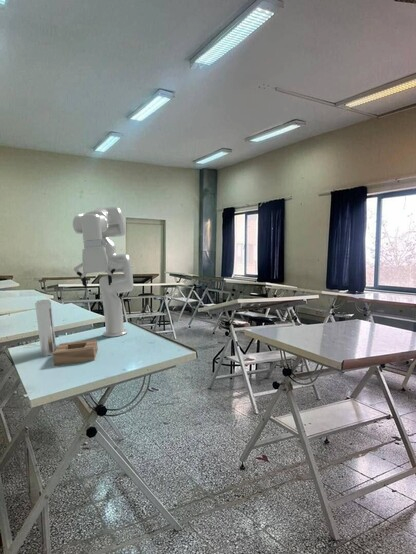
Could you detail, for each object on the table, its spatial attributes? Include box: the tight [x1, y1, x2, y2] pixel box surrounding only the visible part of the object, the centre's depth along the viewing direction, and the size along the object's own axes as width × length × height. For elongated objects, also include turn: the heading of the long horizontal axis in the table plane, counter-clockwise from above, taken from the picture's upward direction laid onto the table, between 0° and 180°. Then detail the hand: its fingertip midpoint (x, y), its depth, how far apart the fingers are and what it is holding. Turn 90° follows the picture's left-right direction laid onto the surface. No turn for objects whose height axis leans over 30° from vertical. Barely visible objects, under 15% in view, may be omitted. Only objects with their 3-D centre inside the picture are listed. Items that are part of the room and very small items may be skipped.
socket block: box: [52, 338, 99, 366], centre depth 164 cm, size 16×16×5 cm
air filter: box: [35, 298, 57, 356], centre depth 172 cm, size 6×6×25 cm
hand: (97, 286), depth 155 cm, fingers open, 9 cm apart
